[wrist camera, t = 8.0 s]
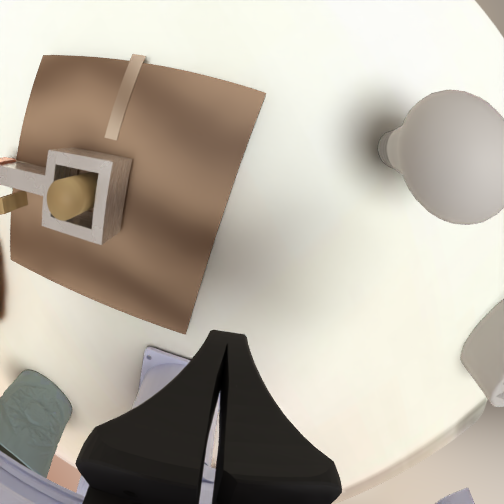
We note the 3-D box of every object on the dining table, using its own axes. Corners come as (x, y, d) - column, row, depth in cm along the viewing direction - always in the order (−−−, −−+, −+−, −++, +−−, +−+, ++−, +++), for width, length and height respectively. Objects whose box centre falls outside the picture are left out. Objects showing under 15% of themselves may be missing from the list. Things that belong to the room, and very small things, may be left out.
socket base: (187, 328, 23) (172, 372, 18) (12, 254, 21) (-23, 276, 16) (268, 88, 16) (272, 67, 12) (47, 51, 15) (6, 39, 10)
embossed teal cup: (61, 376, 26) (15, 452, 14) (88, 428, 29) (58, 495, 18) (7, 357, 26) (-39, 415, 14) (35, 408, 29) (2, 463, 18)
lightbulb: (332, 125, 17) (421, 106, 7) (404, 94, 16) (517, 71, 6) (370, 207, 19) (468, 271, 9) (435, 172, 18) (548, 206, 8)
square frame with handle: (132, 158, 17) (112, 162, 14) (120, 231, 19) (101, 245, 16) (7, 138, 16) (-16, 140, 13) (2, 196, 17) (-20, 204, 15)
